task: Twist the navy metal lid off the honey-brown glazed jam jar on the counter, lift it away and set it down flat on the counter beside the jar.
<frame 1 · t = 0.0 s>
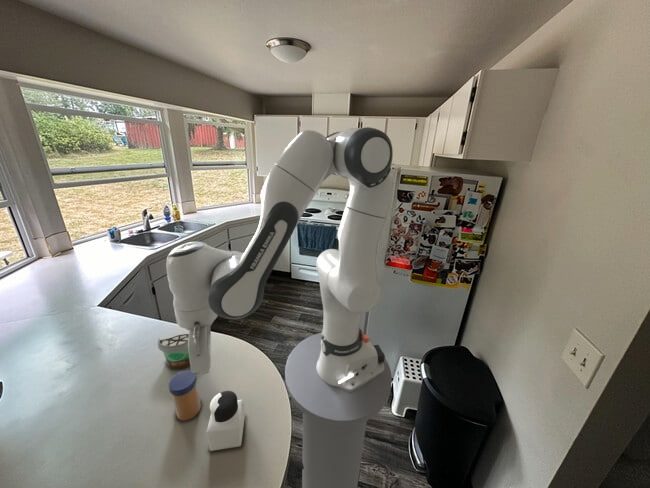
hand: (205, 356, 63), 18 cm above the table, tool pointing down, fingers open, 8 cm apart
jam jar: (189, 409, 68), on the table
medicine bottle: (228, 434, 63), on the table
food container: (183, 364, 83), on the table
jar lid: (182, 381, 65), point 11 cm above the table, screwed on, not yet turned
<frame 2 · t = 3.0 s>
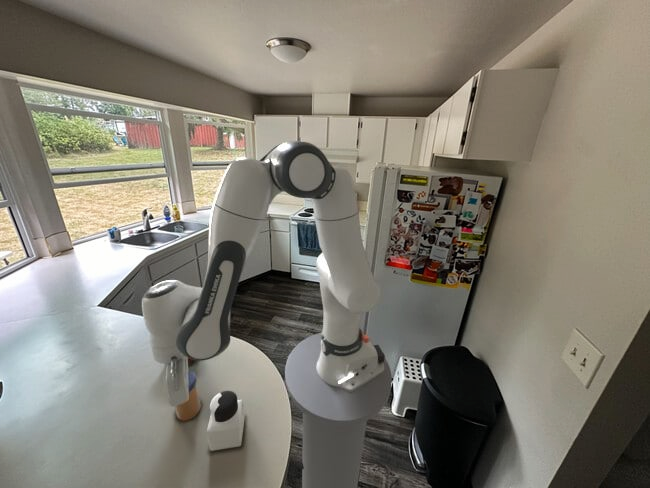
hand: (183, 385, 65), 9 cm above the table, tool pointing down, fingers closed on jar lid, 6 cm apart
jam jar: (189, 409, 68), on the table, touching gripper
jar lid: (182, 381, 64), point 11 cm above the table, screwed on, not yet turned, touching gripper
everything else where it was.
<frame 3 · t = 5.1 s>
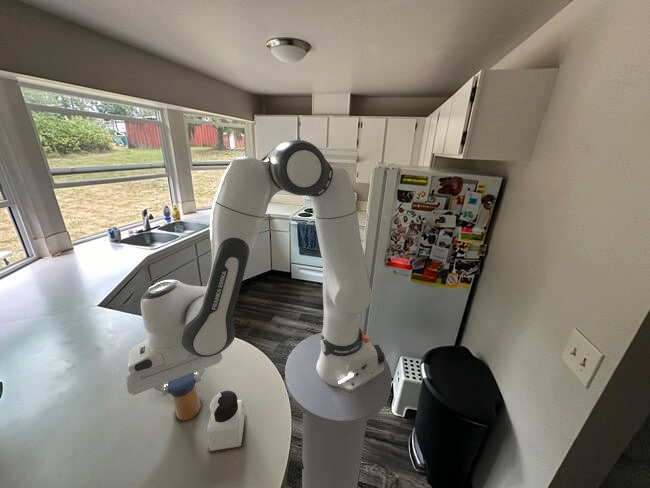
hand: (182, 386, 65), 9 cm above the table, tool pointing down, fingers closed on jar lid, 6 cm apart
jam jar: (189, 409, 68), on the table
jar lid: (181, 381, 64), point 11 cm above the table, turned 95° so far, risen 0.2 cm, still on its thread, touching gripper
everything else where it was.
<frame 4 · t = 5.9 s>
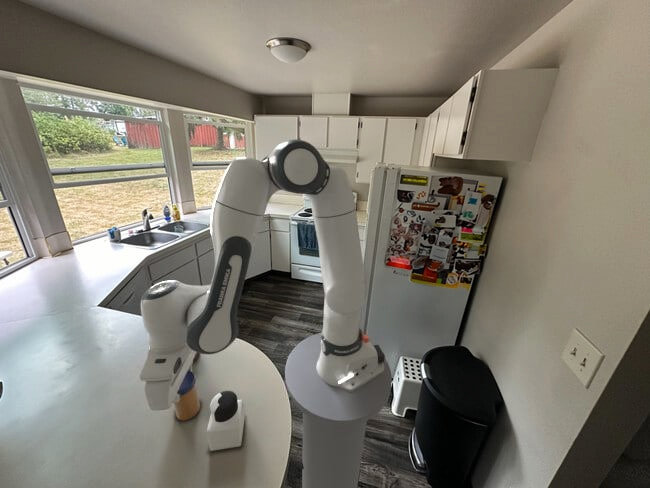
hand: (182, 386, 65), 9 cm above the table, tool pointing down, fingers closed on jar lid, 6 cm apart
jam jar: (188, 409, 68), on the table, touching gripper, jar lid
jar lid: (181, 381, 64), point 11 cm above the table, off its thread, touching gripper, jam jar
everything else where it was.
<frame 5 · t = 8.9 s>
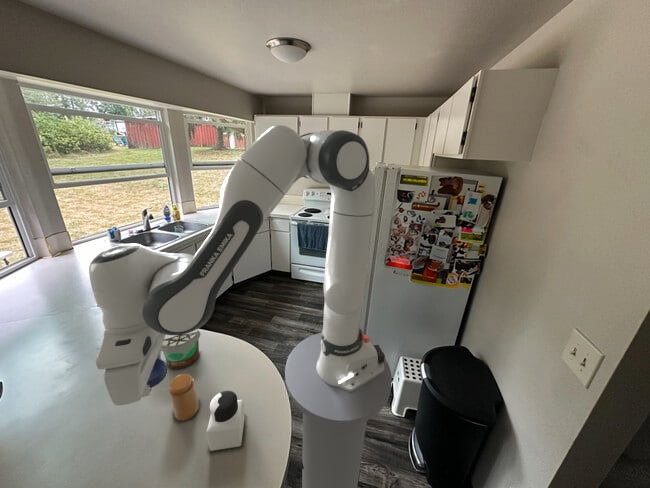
hand: (151, 378, 53), 21 cm above the table, tool pointing down, fingers closed on jar lid, 6 cm apart
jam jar: (187, 409, 68), on the table
jar lid: (149, 372, 53), point 23 cm above the table, off its thread, touching gripper
everything else where it was.
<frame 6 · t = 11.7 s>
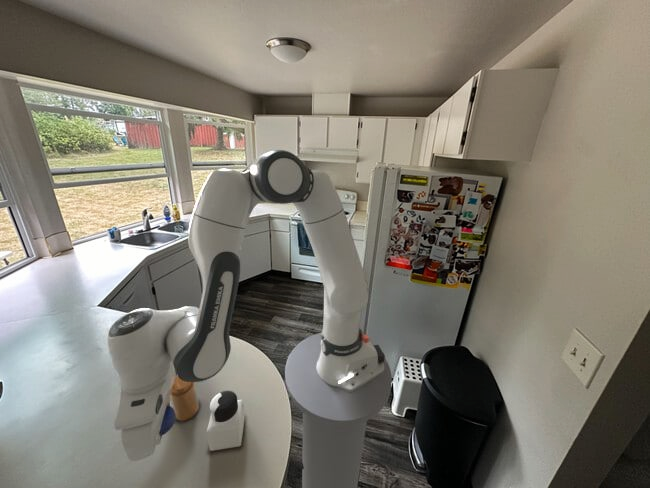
hand: (161, 425, 58), 7 cm above the table, tool pointing down, fingers closed on jar lid, 6 cm apart
jar lid: (159, 419, 57), point 9 cm above the table, off its thread, touching gripper
everything else where it was.
when the fingers open (0 cm above the table, at t = 14.5 s): jar lid stays where it is, point 1 cm above the table.
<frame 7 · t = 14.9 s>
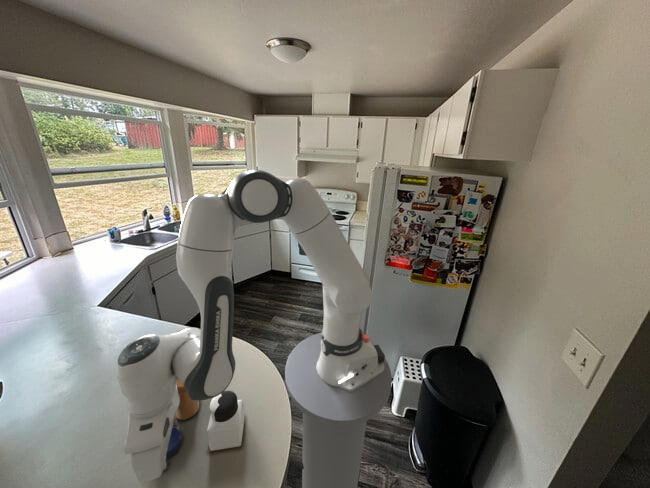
hand: (167, 444, 60), 1 cm above the table, tool pointing down, fingers open, 8 cm apart
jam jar: (187, 409, 68), on the table, touching gripper
jar lid: (165, 441, 59), point 1 cm above the table, off its thread
everything else where it was.
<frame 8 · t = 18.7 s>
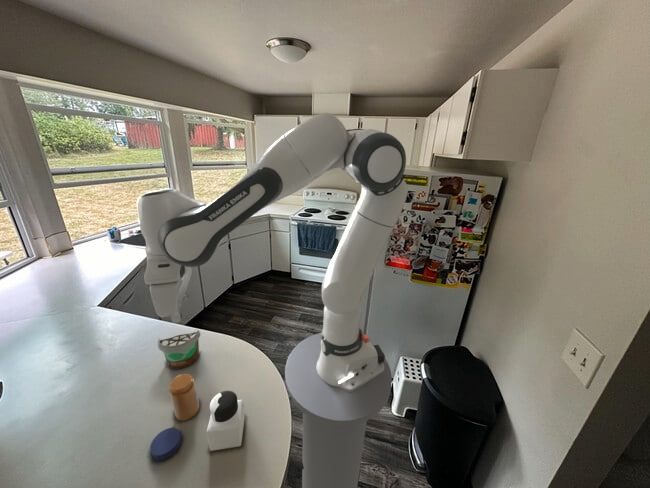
hand: (181, 309, 63), 29 cm above the table, tool pointing down, fingers open, 8 cm apart
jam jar: (187, 409, 68), on the table
everything else where it was.
at the end: jar lid came off its thread; jar lid point 1.5 cm above the table; the gripper is holding nothing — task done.
